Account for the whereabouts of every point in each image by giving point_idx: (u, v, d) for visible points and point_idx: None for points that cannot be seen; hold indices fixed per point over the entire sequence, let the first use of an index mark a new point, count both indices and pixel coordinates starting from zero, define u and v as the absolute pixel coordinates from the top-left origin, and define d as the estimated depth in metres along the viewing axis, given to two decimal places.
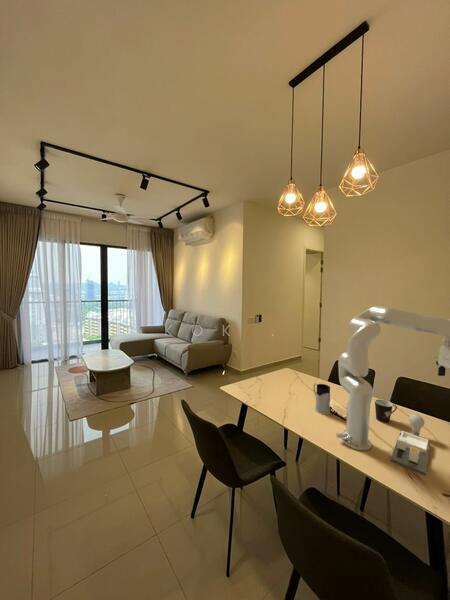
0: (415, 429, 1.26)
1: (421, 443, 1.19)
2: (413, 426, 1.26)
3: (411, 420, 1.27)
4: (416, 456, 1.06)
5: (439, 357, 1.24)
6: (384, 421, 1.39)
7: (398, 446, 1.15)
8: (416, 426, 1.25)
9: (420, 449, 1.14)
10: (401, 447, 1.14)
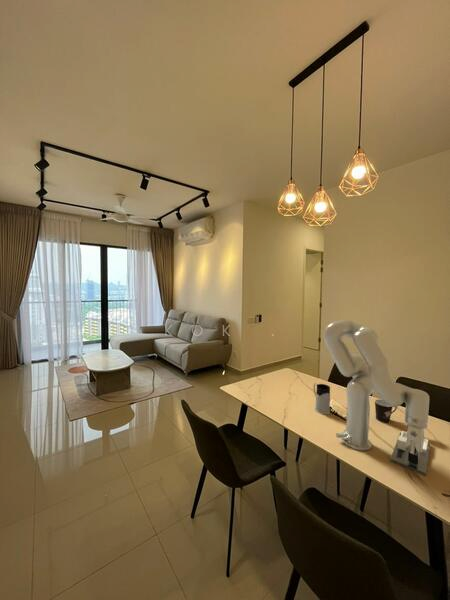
0: None
1: None
2: None
3: None
4: None
5: (421, 444, 1.00)
6: (384, 421, 1.39)
7: (398, 446, 1.15)
8: None
9: None
10: (401, 447, 1.14)
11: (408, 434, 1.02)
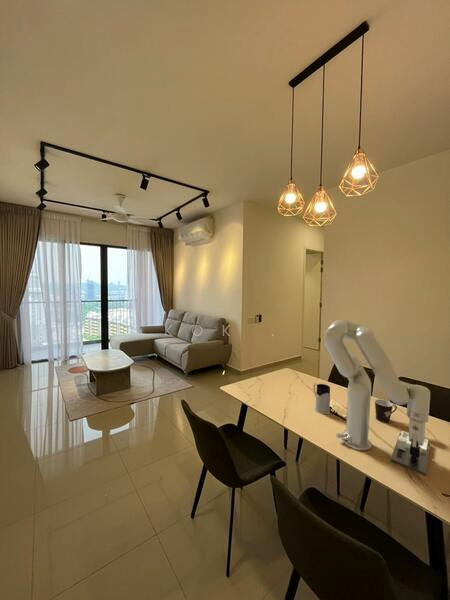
0: None
1: None
2: None
3: None
4: None
5: (423, 437, 1.04)
6: (384, 421, 1.39)
7: (398, 446, 1.15)
8: None
9: (420, 449, 1.14)
10: (401, 447, 1.14)
11: (410, 428, 1.07)
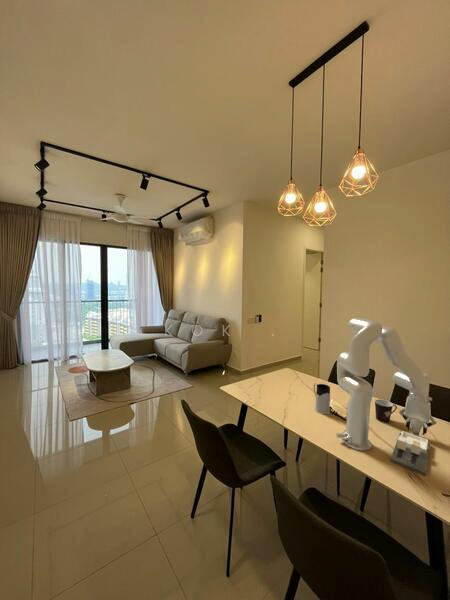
0: (415, 429, 1.26)
1: (421, 443, 1.19)
2: (413, 426, 1.26)
3: (411, 420, 1.27)
4: (418, 448, 1.11)
5: None
6: (384, 421, 1.39)
7: (398, 446, 1.15)
8: (416, 426, 1.25)
9: (420, 449, 1.14)
10: (401, 447, 1.14)
11: (429, 411, 1.22)
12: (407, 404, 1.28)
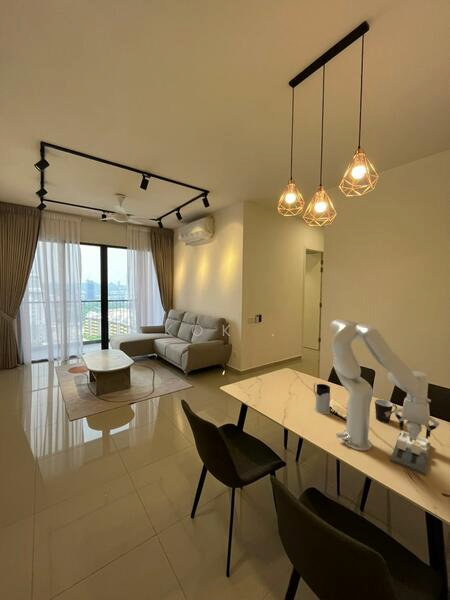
0: (412, 435, 1.19)
1: (421, 443, 1.19)
2: (410, 432, 1.19)
3: (408, 426, 1.19)
4: (418, 448, 1.11)
5: None
6: (384, 421, 1.39)
7: (398, 446, 1.15)
8: (413, 432, 1.18)
9: (420, 449, 1.14)
10: (401, 447, 1.14)
11: (428, 413, 1.14)
12: (404, 406, 1.20)
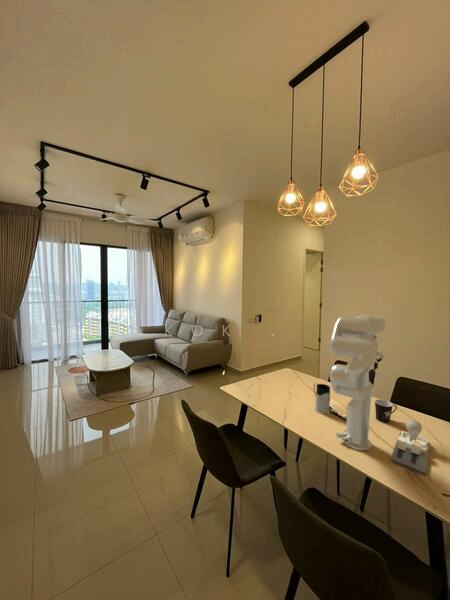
0: (412, 435, 1.19)
1: (421, 443, 1.19)
2: (410, 432, 1.19)
3: (408, 426, 1.19)
4: (418, 448, 1.11)
5: None
6: (384, 421, 1.39)
7: (398, 446, 1.15)
8: (413, 432, 1.18)
9: (420, 449, 1.14)
10: (401, 447, 1.14)
11: None
12: None
